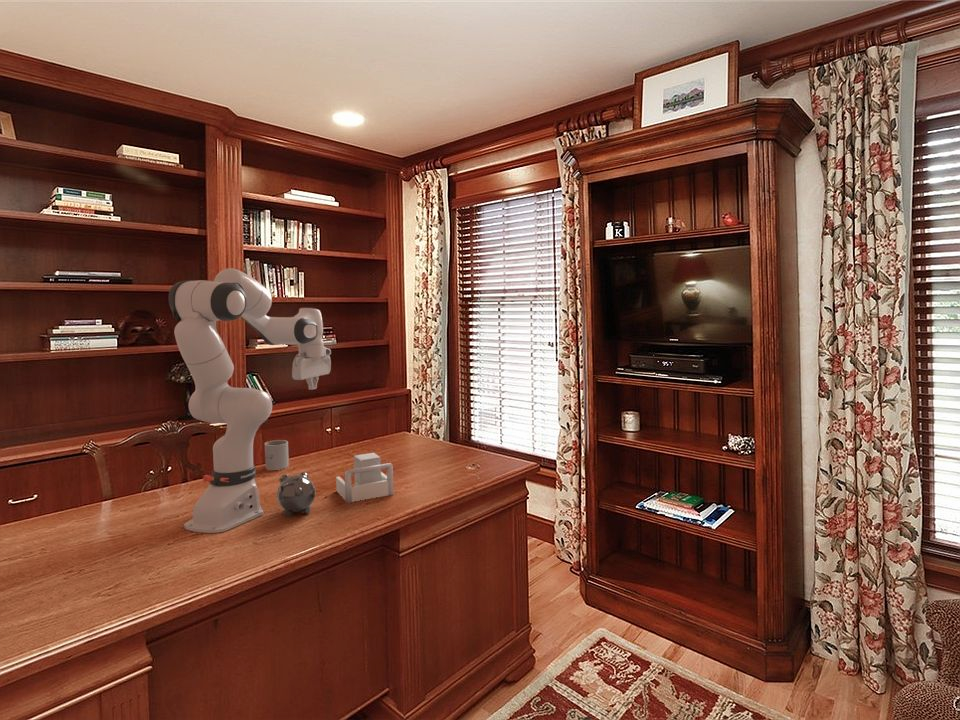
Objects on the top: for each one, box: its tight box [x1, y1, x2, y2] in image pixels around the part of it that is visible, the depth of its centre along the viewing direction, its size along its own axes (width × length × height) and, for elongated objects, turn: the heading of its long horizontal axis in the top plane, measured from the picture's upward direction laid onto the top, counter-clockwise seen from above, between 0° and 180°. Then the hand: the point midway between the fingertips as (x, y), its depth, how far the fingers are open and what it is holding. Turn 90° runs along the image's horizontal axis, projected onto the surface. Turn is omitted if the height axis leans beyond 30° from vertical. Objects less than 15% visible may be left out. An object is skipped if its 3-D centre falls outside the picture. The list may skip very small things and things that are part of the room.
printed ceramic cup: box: [264, 439, 290, 471], centre depth 212 cm, size 12×9×10 cm
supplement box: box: [353, 452, 382, 486], centre depth 181 cm, size 7×7×13 cm
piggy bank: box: [276, 471, 316, 518], centre depth 164 cm, size 11×15×12 cm
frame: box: [335, 462, 394, 504], centre depth 180 cm, size 14×16×11 cm
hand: (312, 389), depth 196 cm, fingers closed
